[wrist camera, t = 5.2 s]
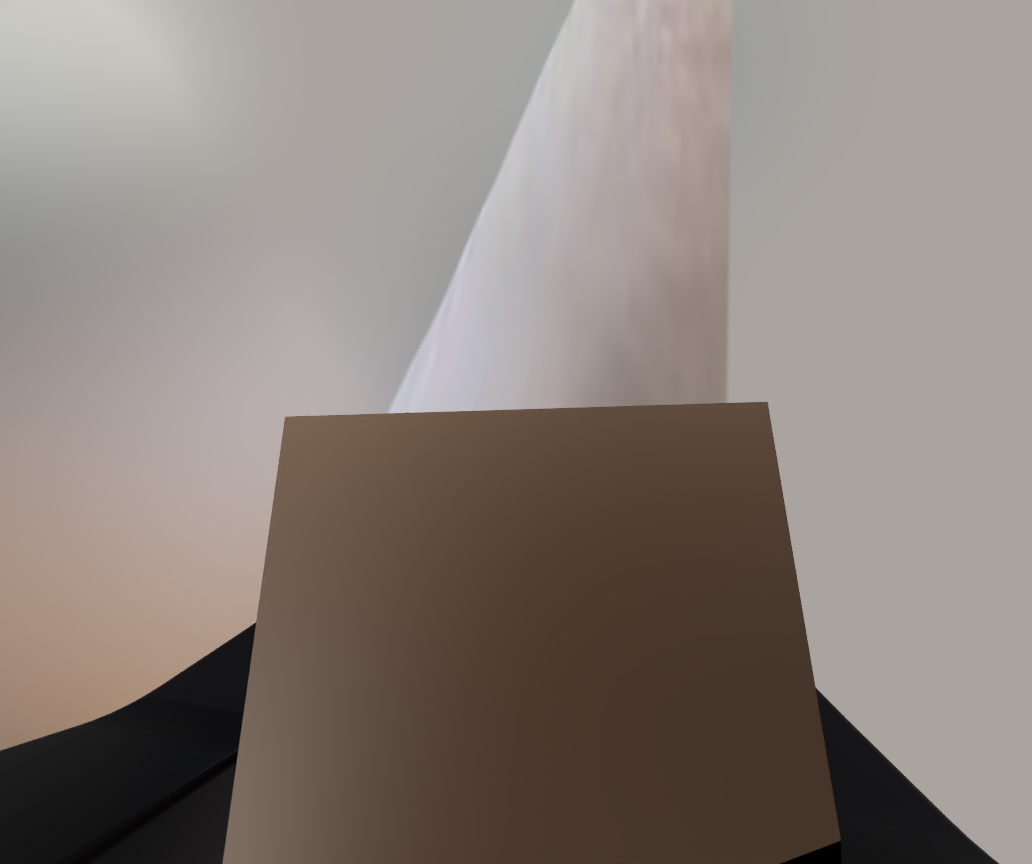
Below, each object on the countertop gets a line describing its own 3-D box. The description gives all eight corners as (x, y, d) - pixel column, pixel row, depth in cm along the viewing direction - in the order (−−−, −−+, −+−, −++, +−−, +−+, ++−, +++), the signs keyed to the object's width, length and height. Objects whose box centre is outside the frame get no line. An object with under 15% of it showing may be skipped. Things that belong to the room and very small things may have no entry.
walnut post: (590, 592, 14) (885, 1111, 2) (500, 591, 15) (197, 1031, 2) (585, 499, 15) (768, 402, 3) (500, 500, 15) (285, 417, 3)
